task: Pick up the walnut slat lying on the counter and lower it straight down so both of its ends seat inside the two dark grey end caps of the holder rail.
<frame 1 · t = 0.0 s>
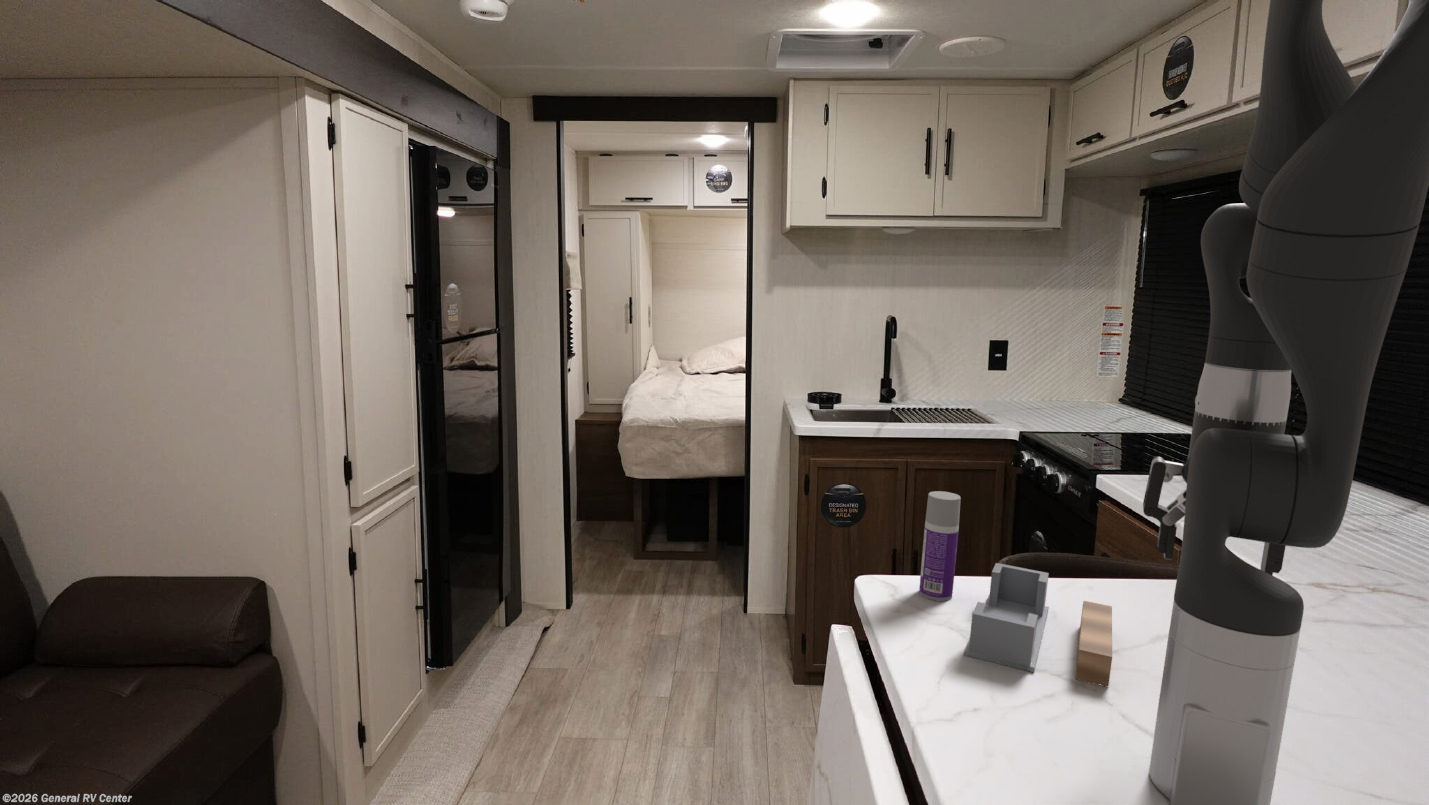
hand: (1215, 565, 78), 17 cm above the countertop, tool pointing down, fingers open, 8 cm apart
endcap rail: (1009, 631, 100), on the countertop
slat: (1092, 656, 95), on the countertop
container: (935, 595, 112), on the countertop
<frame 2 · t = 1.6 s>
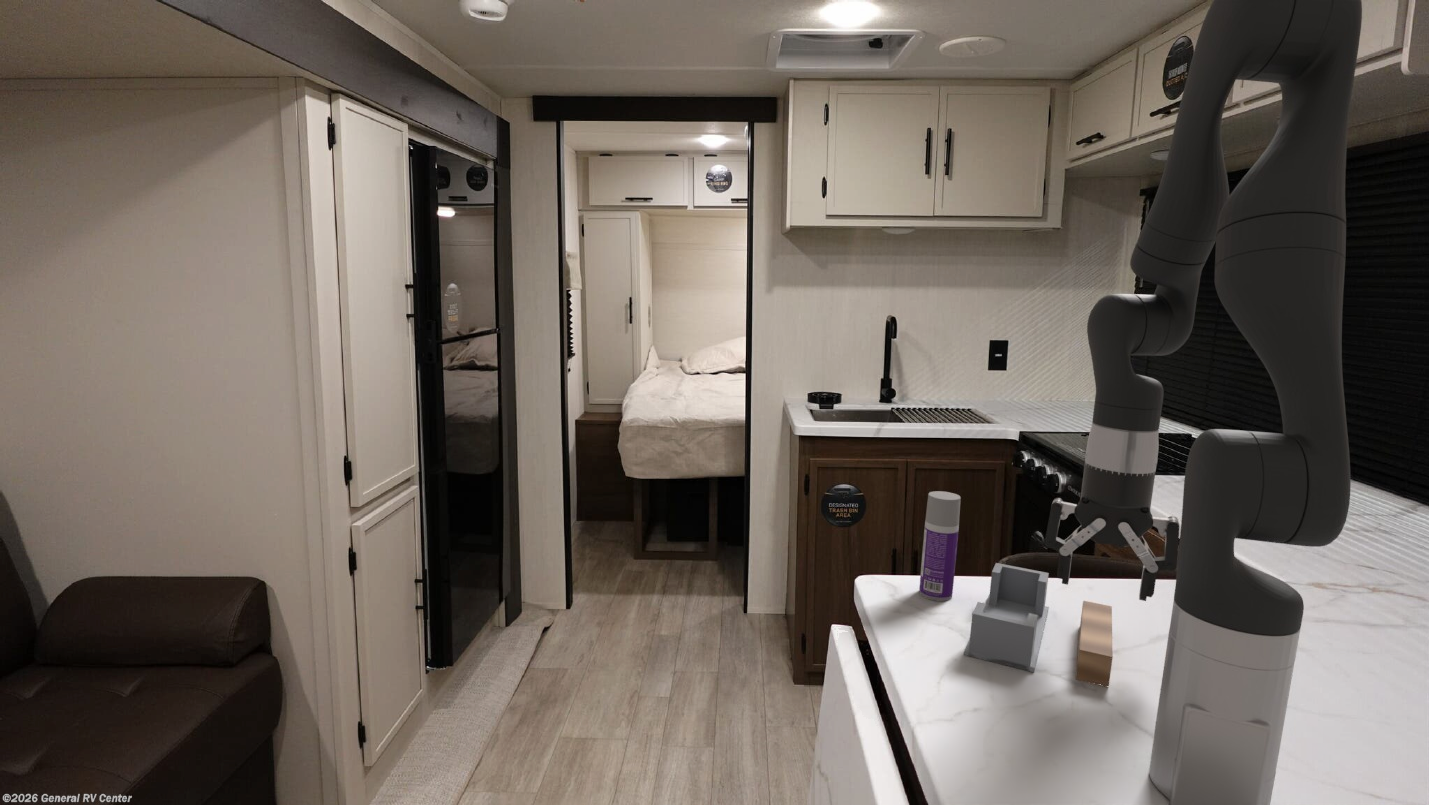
hand: (1103, 590, 94), 8 cm above the countertop, tool pointing down, fingers open, 8 cm apart
nothing on the countertop moved.
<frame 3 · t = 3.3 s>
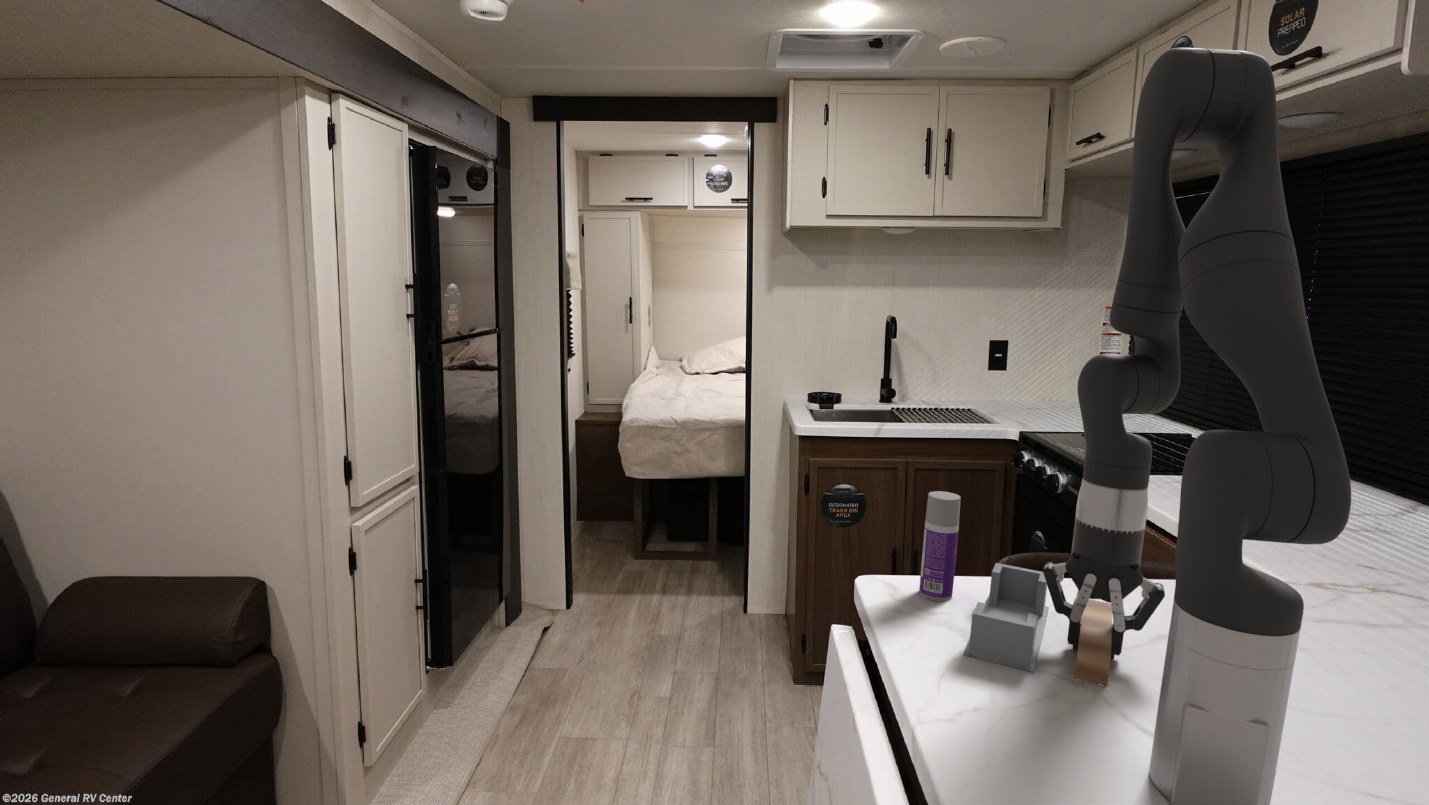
hand: (1093, 651, 95), 0 cm above the countertop, tool pointing down, fingers closed on slat, 3 cm apart
slat: (1092, 654, 95), on the countertop, touching gripper
everything else where it was.
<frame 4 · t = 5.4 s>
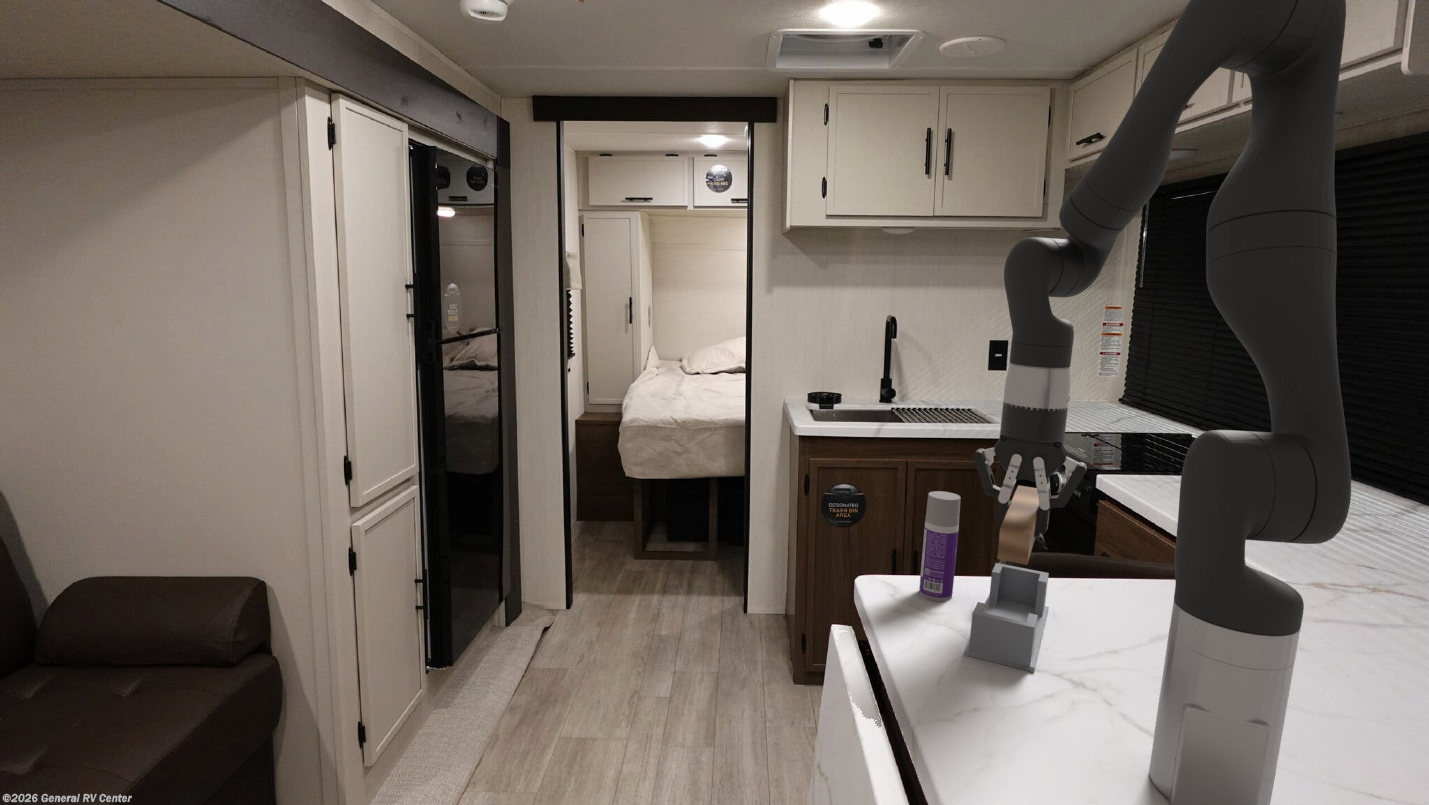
hand: (1021, 532, 98), 14 cm above the countertop, tool pointing down, fingers closed on slat, 3 cm apart
slat: (1020, 536, 99), point 13 cm above the countertop, tilted 7°, touching gripper
everything else where it was.
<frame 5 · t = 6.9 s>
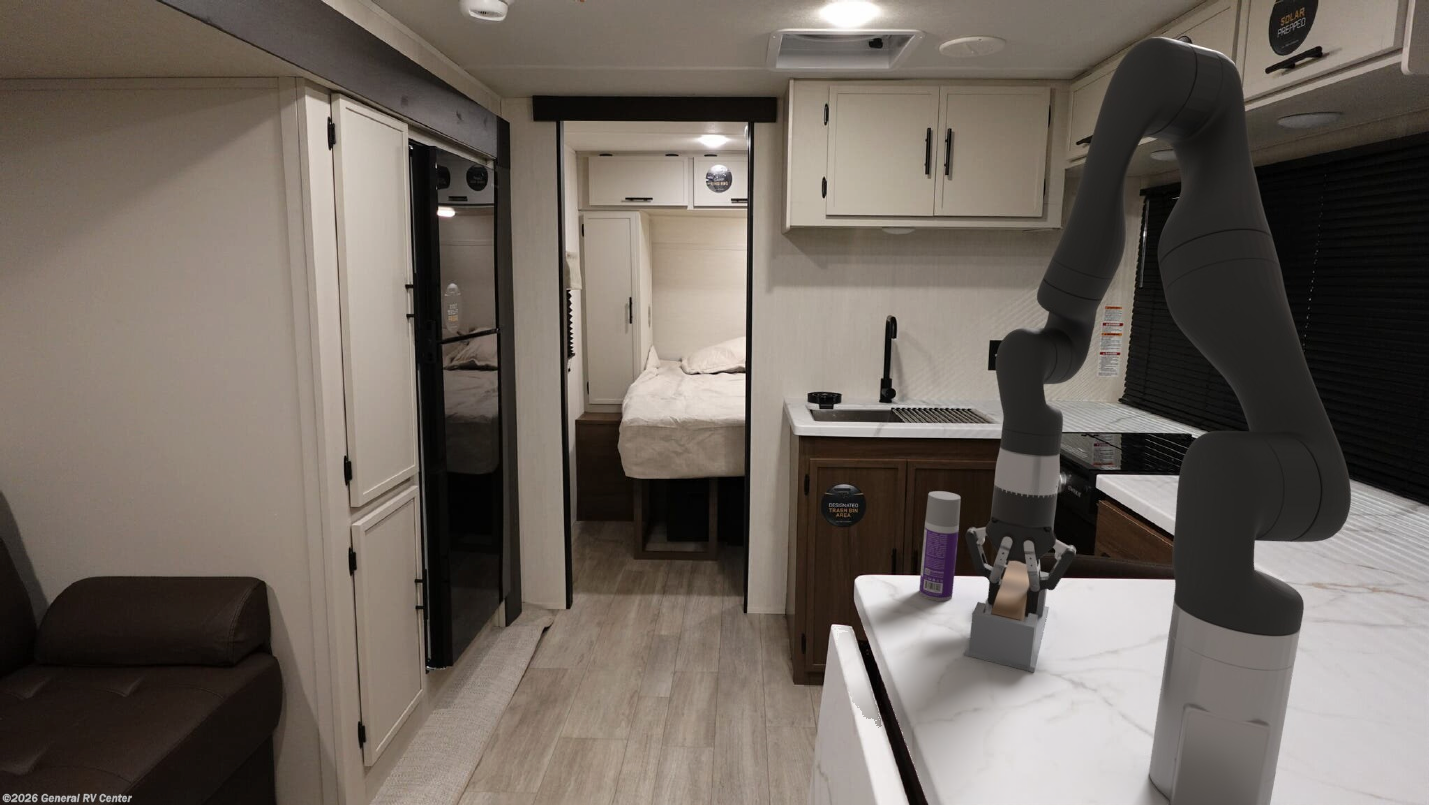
hand: (1011, 611, 100), 3 cm above the countertop, tool pointing down, fingers closed on slat, 3 cm apart
slat: (1011, 615, 101), point 2 cm above the countertop, tilted 6°, touching gripper
everything else where it was.
when the fingers open (2 cm above the countertop, at t = 7.7 s): slat stays where it is, resting on endcap rail.
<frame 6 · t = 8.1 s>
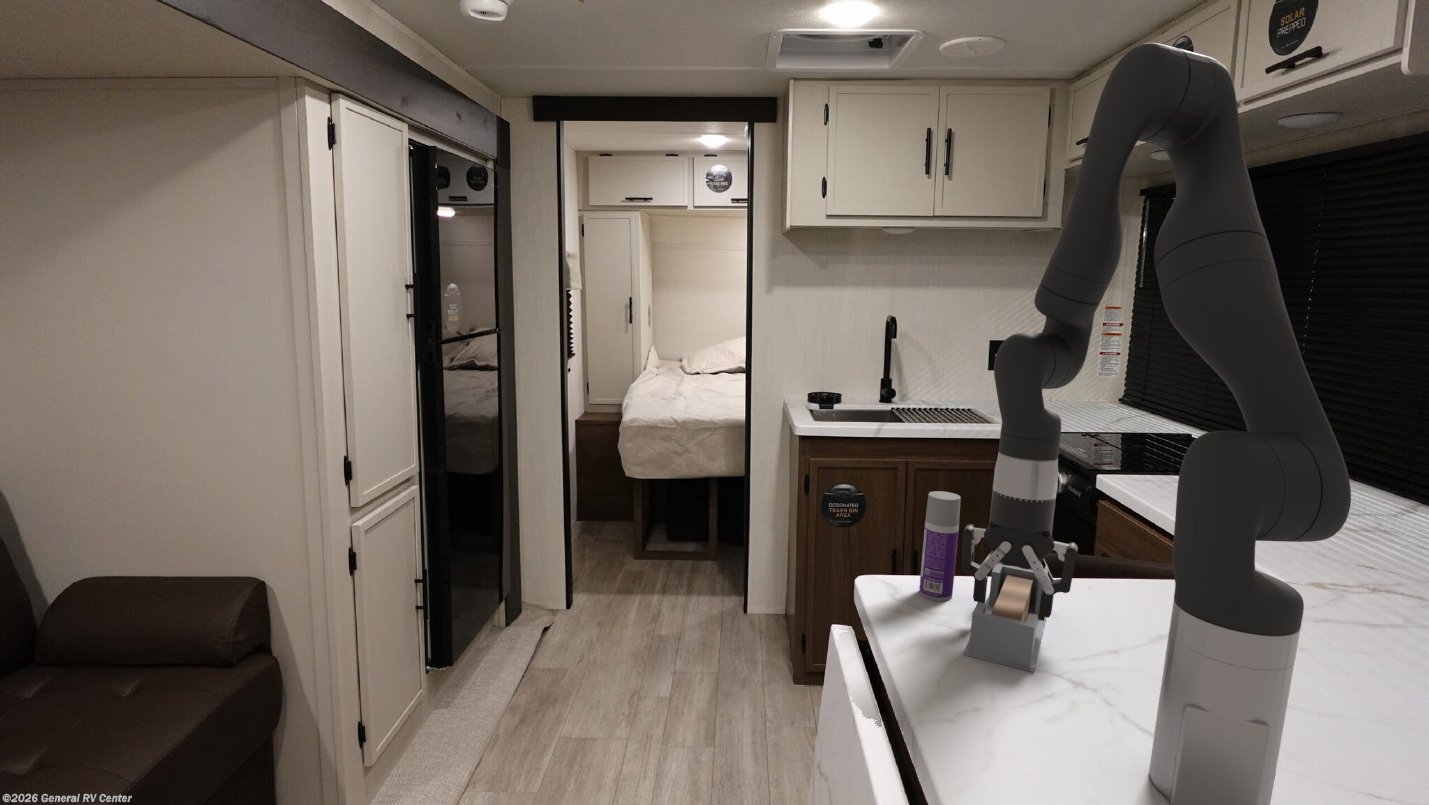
hand: (1011, 611, 100), 3 cm above the countertop, tool pointing down, fingers open, 7 cm apart
slat: (1010, 625, 101), point 1 cm above the countertop, touching endcap rail
everything else where it was.
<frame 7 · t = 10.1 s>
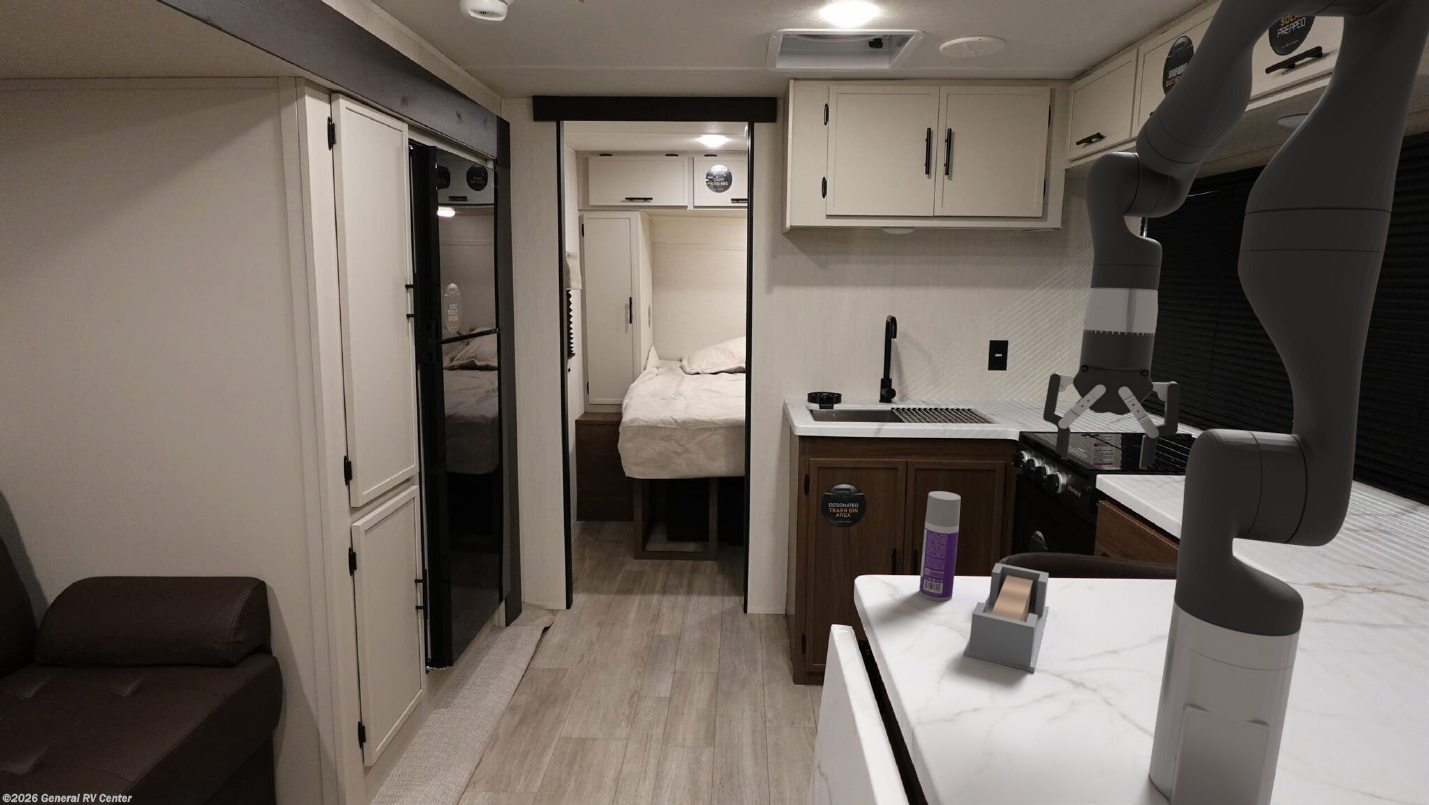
hand: (1103, 463, 92), 24 cm above the countertop, tool pointing down, fingers open, 8 cm apart
nothing on the countertop moved.
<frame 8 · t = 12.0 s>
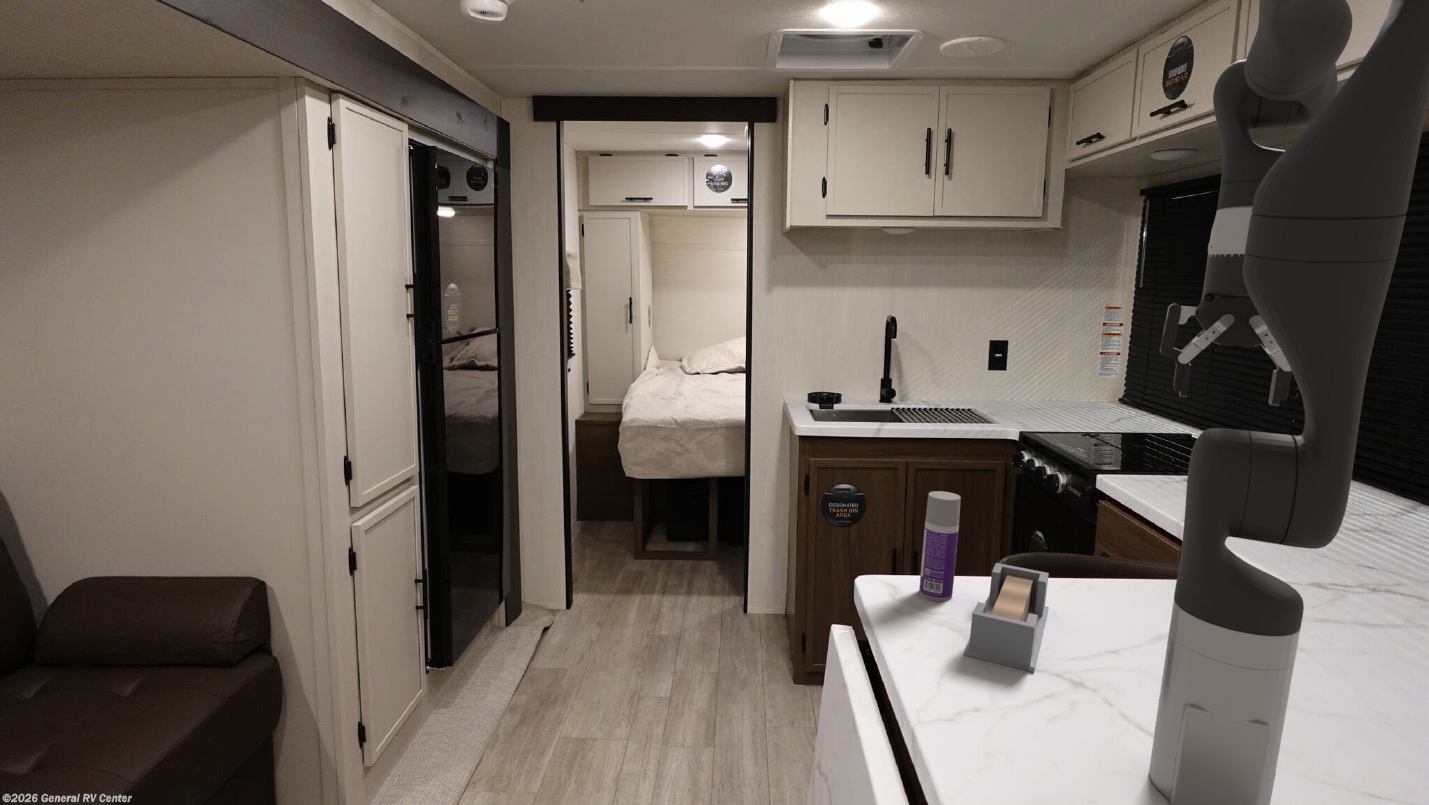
hand: (1227, 400, 85), 33 cm above the countertop, tool pointing down, fingers open, 8 cm apart
nothing on the countertop moved.
at the end: slat 0.6 cm off-centre on the endcap rail, point 0.6 cm above the endcap rail's base; slat tilted 0°; the gripper is holding nothing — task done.
